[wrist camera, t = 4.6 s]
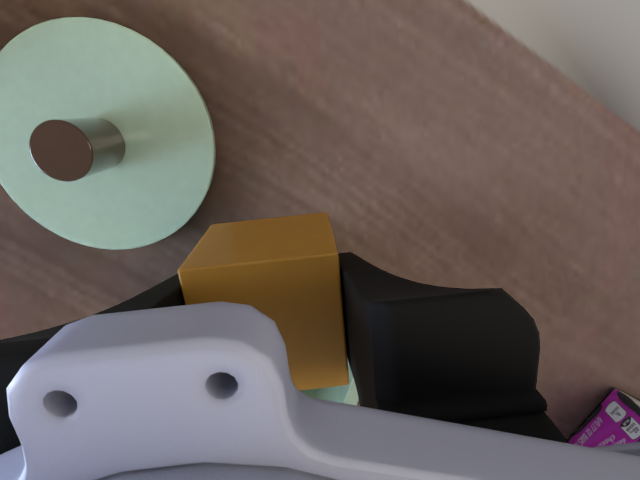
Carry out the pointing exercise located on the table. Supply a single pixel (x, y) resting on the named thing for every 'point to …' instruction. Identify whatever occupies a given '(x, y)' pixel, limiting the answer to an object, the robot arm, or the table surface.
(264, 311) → the block
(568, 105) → the table surface
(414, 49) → the table surface
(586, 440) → the candy bar box
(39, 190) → the lid
